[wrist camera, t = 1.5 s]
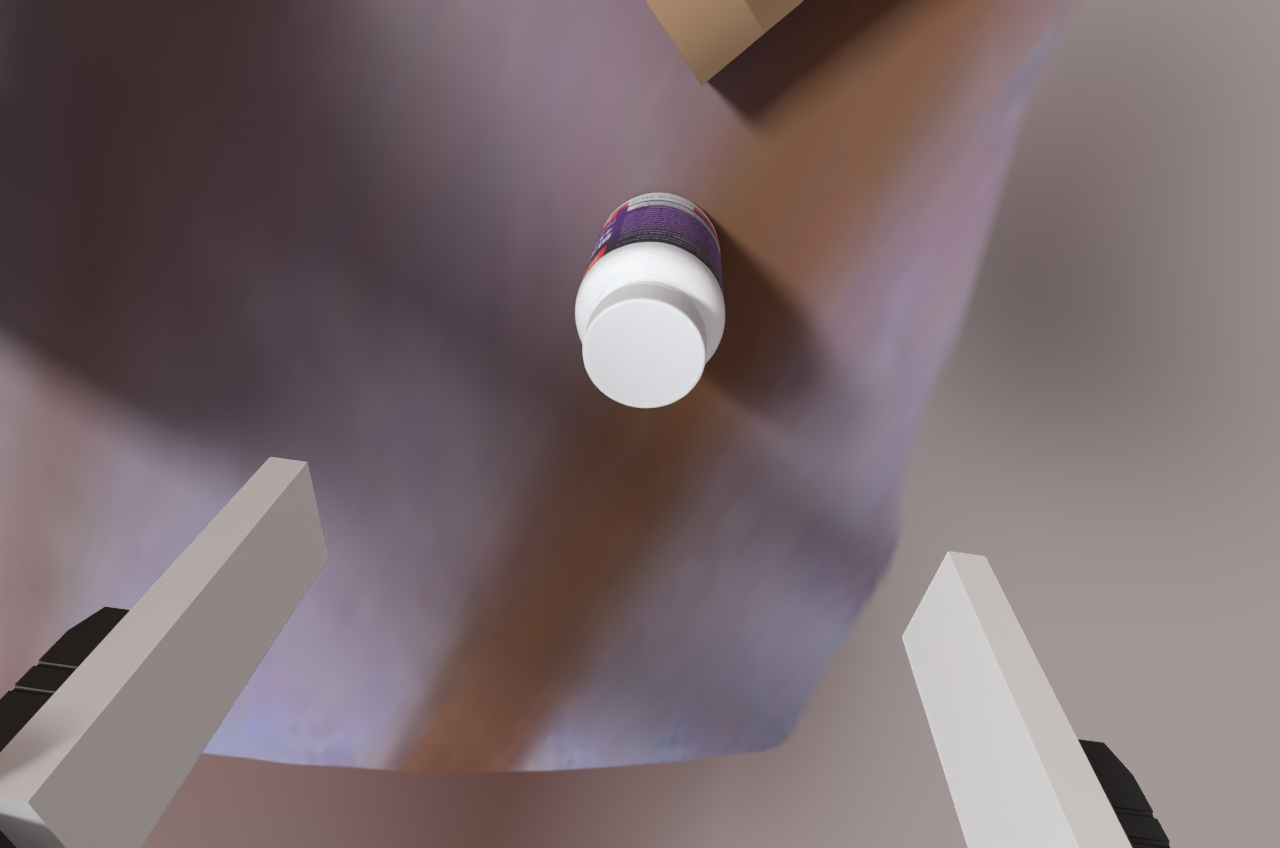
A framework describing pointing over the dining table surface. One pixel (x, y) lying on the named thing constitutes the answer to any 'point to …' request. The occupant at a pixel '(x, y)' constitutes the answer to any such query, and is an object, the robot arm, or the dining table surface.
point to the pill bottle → (651, 301)
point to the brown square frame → (717, 28)
